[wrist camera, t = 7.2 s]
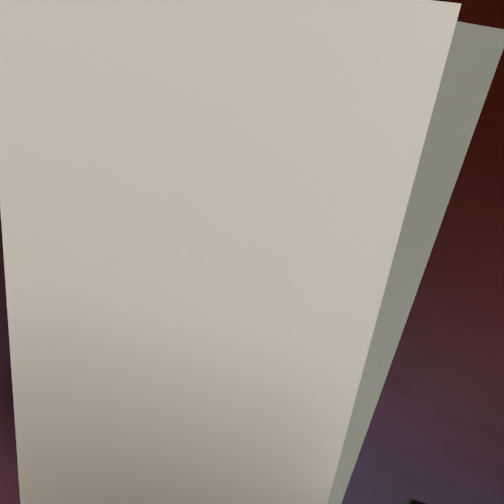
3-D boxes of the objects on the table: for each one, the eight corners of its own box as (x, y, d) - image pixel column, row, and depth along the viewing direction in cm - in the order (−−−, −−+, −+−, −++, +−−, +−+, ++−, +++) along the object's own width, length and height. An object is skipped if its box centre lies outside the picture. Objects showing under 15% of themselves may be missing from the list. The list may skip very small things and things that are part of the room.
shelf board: (278, 620, 14) (259, 756, 11) (93, 562, 14) (31, 674, 12) (421, 34, 8) (461, 3, 5) (100, -7, 9) (-19, -53, 6)
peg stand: (329, 513, 19) (322, 661, 14) (104, 442, 20) (25, 555, 15) (494, 35, 12) (592, 0, 7) (142, -27, 13) (24, -93, 8)
